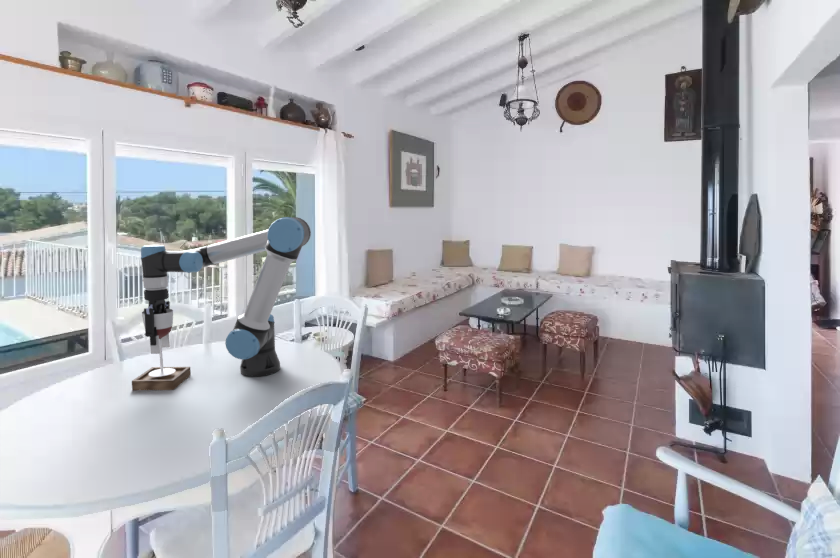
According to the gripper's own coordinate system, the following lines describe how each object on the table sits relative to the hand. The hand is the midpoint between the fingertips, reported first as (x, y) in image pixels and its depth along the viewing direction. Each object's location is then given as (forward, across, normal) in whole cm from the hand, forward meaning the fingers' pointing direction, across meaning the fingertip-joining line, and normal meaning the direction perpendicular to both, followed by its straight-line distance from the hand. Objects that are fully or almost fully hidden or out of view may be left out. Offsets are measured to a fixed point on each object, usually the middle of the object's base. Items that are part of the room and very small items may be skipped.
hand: (160, 350), depth 160 cm
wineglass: (+9, 0, 0) cm, 9 cm away
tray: (+12, 0, 0) cm, 12 cm away
